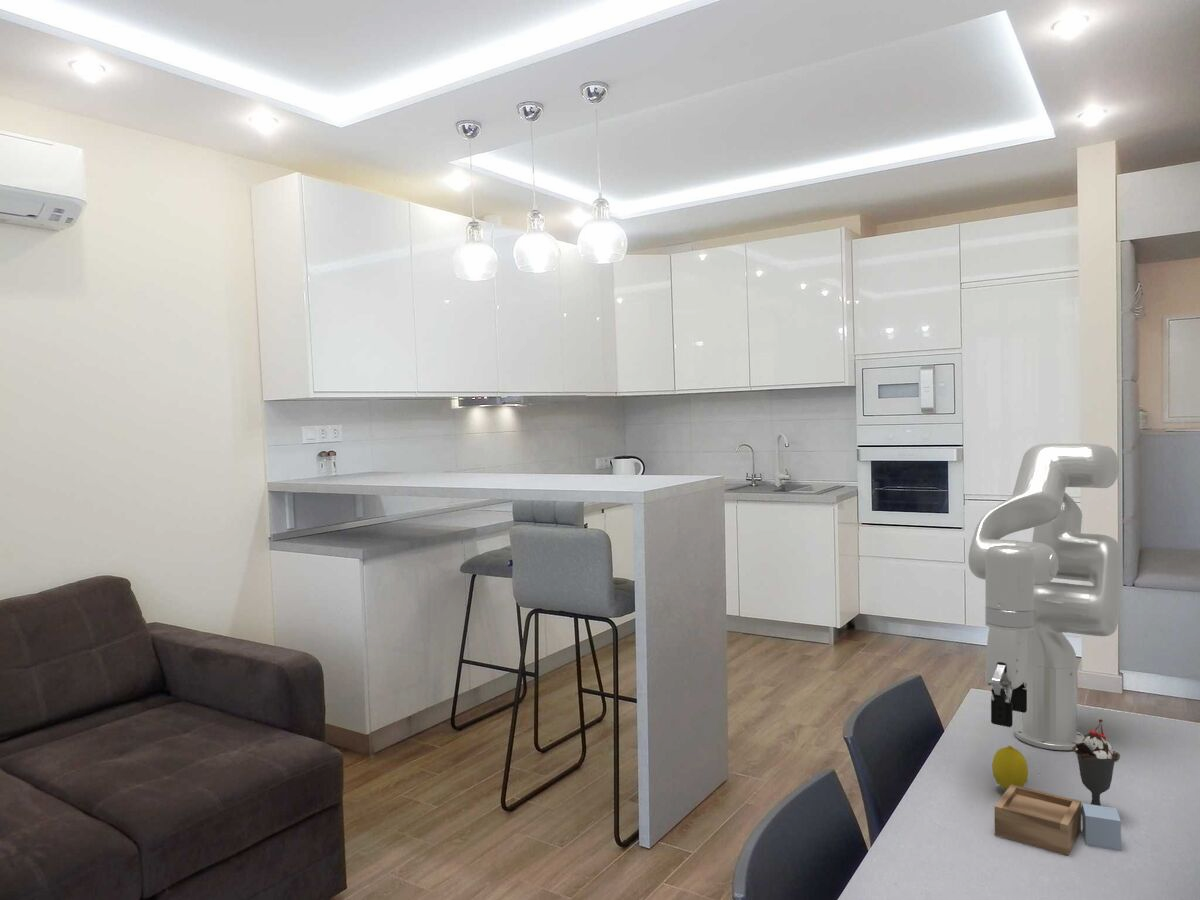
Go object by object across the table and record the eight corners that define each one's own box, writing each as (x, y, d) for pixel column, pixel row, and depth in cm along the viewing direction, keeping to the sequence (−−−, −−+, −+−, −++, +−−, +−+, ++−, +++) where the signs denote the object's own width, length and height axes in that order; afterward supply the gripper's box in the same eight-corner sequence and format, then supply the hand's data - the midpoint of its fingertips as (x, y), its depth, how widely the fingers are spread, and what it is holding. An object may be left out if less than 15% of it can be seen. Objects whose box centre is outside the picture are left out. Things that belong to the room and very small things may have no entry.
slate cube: (1082, 831, 128) (1082, 803, 128) (1116, 837, 126) (1116, 808, 126) (1085, 845, 124) (1085, 815, 124) (1120, 851, 122) (1120, 821, 122)
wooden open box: (1011, 811, 135) (1011, 784, 135) (1081, 829, 128) (1081, 801, 128) (994, 835, 127) (994, 806, 127) (1068, 855, 121) (1067, 825, 121)
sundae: (1113, 807, 136) (1113, 716, 135) (1125, 825, 129) (1124, 731, 129) (1068, 801, 138) (1068, 713, 137) (1077, 820, 131) (1076, 726, 131)
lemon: (1032, 800, 139) (1032, 753, 138) (997, 798, 140) (996, 751, 140) (1022, 786, 144) (1022, 741, 144) (988, 784, 145) (988, 739, 145)
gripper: (999, 608, 150) (999, 701, 150) (971, 623, 137) (971, 726, 137) (1045, 613, 146) (1045, 710, 146) (1020, 629, 132) (1020, 736, 132)
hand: (1009, 717), depth 141 cm, fingers open, 9 cm apart
